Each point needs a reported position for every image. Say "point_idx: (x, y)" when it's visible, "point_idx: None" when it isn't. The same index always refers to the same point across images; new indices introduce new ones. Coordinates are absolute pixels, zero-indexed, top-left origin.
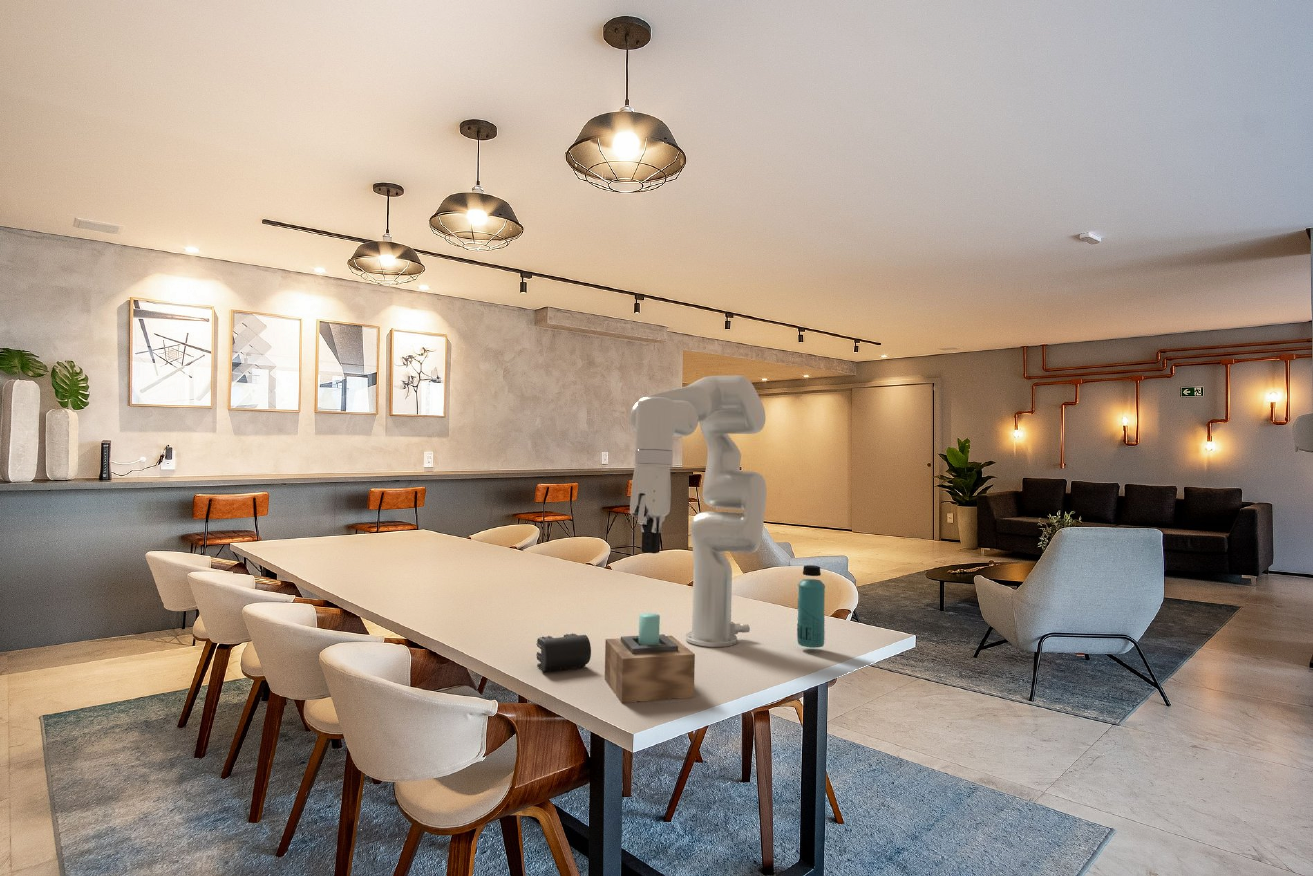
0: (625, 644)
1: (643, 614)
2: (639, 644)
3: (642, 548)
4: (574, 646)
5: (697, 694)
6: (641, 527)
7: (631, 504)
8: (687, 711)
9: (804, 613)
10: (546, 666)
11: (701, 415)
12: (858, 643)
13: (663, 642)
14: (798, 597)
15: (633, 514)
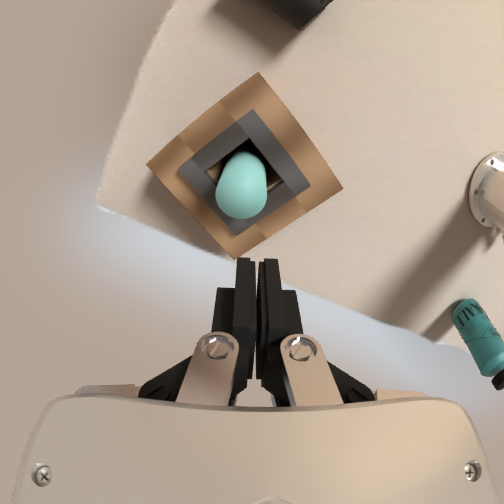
0: (219, 134)
1: (244, 179)
2: (228, 161)
3: (237, 268)
4: (277, 3)
5: None
6: (194, 356)
7: (22, 465)
8: (184, 234)
9: (473, 335)
10: None
11: None
12: None
13: None
14: (494, 339)
15: (109, 404)
